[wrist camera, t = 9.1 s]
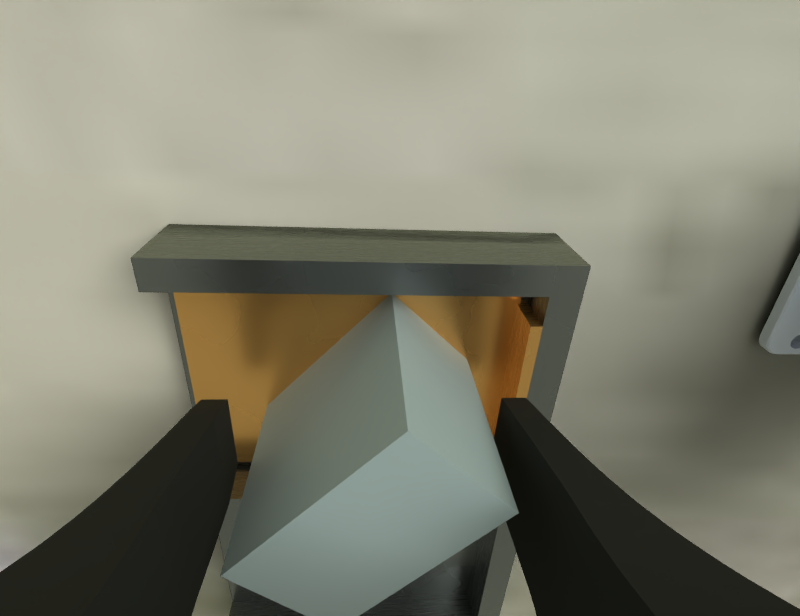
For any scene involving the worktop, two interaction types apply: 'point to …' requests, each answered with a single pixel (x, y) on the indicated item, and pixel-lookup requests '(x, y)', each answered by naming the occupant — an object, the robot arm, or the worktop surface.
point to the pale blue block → (368, 471)
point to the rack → (337, 314)
